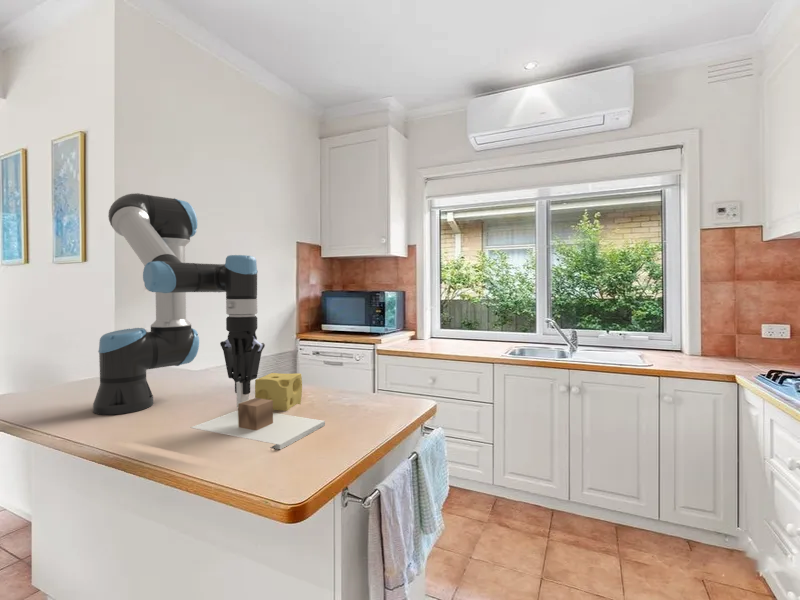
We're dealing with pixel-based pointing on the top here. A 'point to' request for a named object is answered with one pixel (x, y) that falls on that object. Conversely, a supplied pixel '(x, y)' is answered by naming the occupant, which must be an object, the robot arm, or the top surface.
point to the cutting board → (265, 428)
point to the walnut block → (255, 413)
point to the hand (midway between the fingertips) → (242, 406)
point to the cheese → (280, 389)
